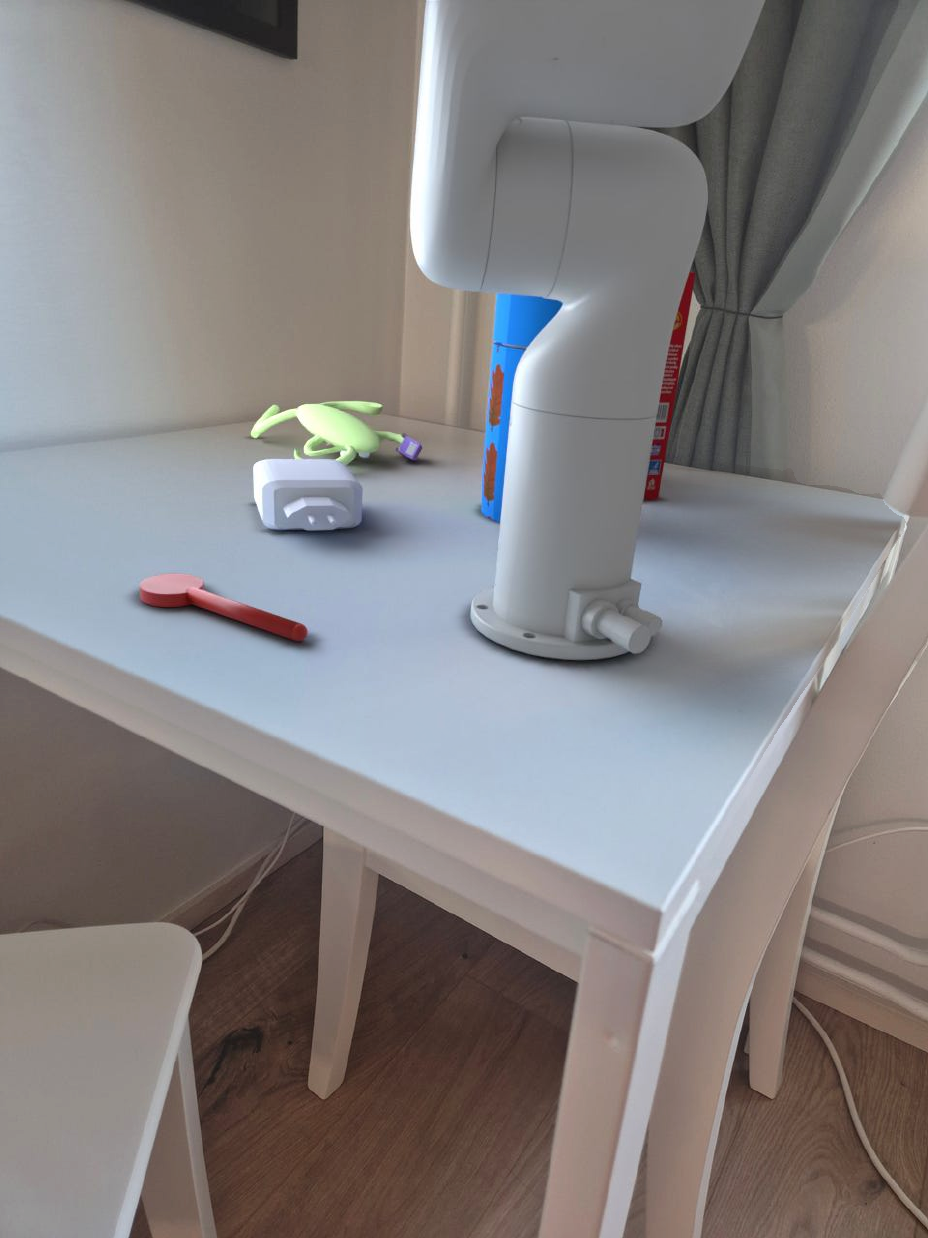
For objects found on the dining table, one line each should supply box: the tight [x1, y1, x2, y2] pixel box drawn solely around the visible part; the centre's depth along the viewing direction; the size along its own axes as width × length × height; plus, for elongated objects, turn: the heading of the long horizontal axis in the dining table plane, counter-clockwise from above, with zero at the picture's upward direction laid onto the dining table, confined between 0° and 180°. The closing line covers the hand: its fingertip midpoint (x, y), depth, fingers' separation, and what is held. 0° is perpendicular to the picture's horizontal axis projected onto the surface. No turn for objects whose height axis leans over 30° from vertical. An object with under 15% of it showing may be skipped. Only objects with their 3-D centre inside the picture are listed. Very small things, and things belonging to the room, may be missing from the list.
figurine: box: [250, 400, 423, 466], centre depth 110 cm, size 18×27×6 cm
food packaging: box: [643, 272, 697, 501], centre depth 99 cm, size 15×5×25 cm, turn 26°
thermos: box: [480, 293, 563, 523], centre depth 84 cm, size 11×11×25 cm
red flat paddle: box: [139, 572, 308, 642], centre depth 58 cm, size 15×4×1 cm, turn 58°
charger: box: [253, 458, 363, 531], centre depth 78 cm, size 5×9×15 cm
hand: (535, 159), depth 74 cm, fingers open, 9 cm apart
